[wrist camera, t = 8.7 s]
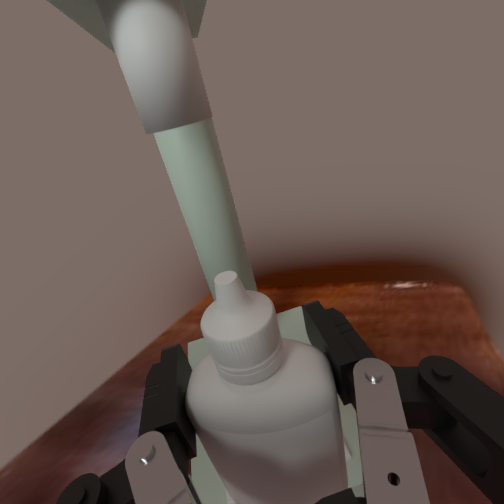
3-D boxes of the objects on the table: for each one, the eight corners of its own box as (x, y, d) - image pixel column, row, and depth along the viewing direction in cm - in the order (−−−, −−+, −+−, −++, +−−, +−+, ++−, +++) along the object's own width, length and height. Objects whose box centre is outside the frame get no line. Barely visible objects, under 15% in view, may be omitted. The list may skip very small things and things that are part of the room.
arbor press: (469, 458, 21) (843, -805, 4) (205, 562, 19) (-1060, -854, 2) (346, 306, 37) (316, -83, 20) (194, 357, 35) (19, -21, 18)
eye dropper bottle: (328, 573, 11) (274, 364, 6) (217, 491, 14) (108, 305, 9) (358, 459, 14) (343, 249, 9) (261, 412, 17) (202, 235, 12)
